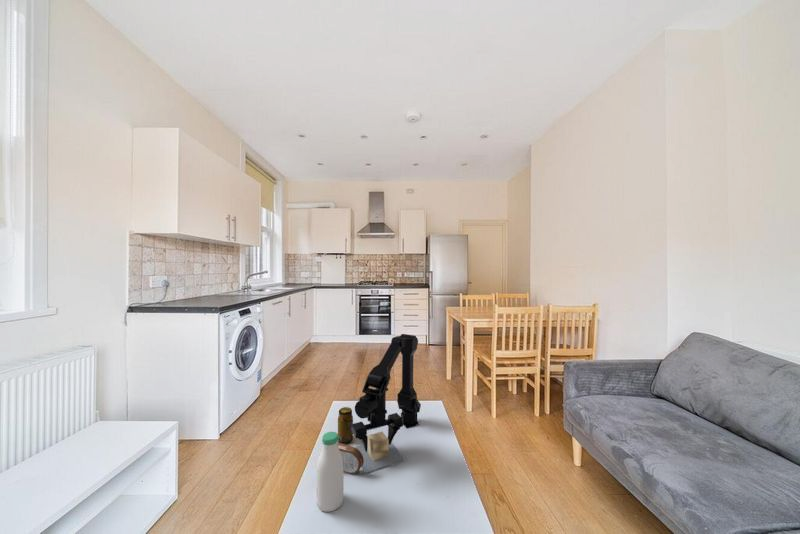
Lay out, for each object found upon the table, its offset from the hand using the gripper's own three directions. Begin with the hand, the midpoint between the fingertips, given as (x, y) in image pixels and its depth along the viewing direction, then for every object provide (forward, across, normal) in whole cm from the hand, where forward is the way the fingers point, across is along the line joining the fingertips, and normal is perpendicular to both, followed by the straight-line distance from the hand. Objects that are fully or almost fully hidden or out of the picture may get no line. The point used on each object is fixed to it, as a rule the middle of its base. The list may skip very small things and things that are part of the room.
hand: (377, 447), depth 110 cm
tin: (+3, +14, +2) cm, 14 cm away
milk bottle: (+3, +21, +14) cm, 25 cm away
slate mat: (+3, 0, 0) cm, 3 cm away
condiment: (+3, +8, -14) cm, 16 cm away
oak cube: (+2, 0, 0) cm, 2 cm away
